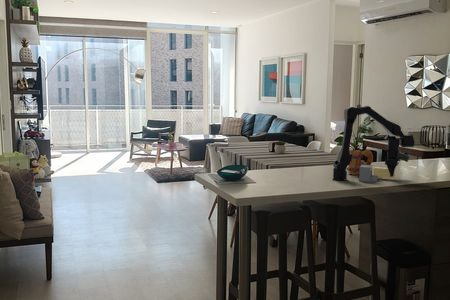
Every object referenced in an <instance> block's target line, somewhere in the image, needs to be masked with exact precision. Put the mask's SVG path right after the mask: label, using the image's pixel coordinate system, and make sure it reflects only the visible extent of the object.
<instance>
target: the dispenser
mask: <svg viewBox="0 0 450 300" xmlns="http://www.w3.org/2000/svg"><path fill="white" fill-rule="evenodd" d="M358 175H359V177H358V178H359V179H358V180H359V182H365V181H366V182H367V183H370V182H371V183H373V182H374V183H377V181H378V180H379V179H378V178H379V177H378V176H377V175H374V174H373V165H372V164H371V165H361V166H360V172H359V174H358Z"/></svg>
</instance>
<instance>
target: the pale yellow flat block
mask: <svg viewBox="0 0 450 300" xmlns="http://www.w3.org/2000/svg"><path fill="white" fill-rule="evenodd" d="M373 175H377V176H378V178H385V179H395V178H396V169H395V170H394V175H393V176H391V175H390V172H389V170H388V168H387V167H378V166H377V167H375V166H374V167H373Z"/></svg>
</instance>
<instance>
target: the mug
mask: <svg viewBox="0 0 450 300" xmlns="http://www.w3.org/2000/svg"><path fill="white" fill-rule="evenodd" d="M349 151H350V153H351V154H352V158H351V160H352V162H351V161H350V164H349V165H348V166H347V168H346V171H347V174H349V175H351V174H352V175H351V176H355V175H356V176H358V175H359V172H360V166H361V165H372V163H373V161H374V154H373V153H372V150H370V149H368V148H367V149H365V150H364V151H363V150H362V151H361V149H358V150H357V149H349ZM364 157H367V160H366V162H362V158H364Z"/></svg>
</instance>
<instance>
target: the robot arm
mask: <svg viewBox="0 0 450 300" xmlns="http://www.w3.org/2000/svg"><path fill="white" fill-rule="evenodd" d="M360 115H367V116H368V117H370V118H371V119H372V120H374V121H375V122H376V123H378V124H379V125H380V126H382V128H383V129H384V130H385V131H386V133H388V134H386V136H384V137H383V138H384V140H387V149H386V151H387V156H386V159H385V161H384V165H386V168H388V170H389V172H390V175H391V176H393V175H394V170H395V171H396V168H397V166H398V165H399V164H400V162H401V160H402V161H404V162H406V163H408V162H409V160H410V157H411V155H409V152H408V151H405V152H401V149H400V147H401V148H414V147H415V143H416V142H415V138H414V134H408V135H407V134H406V135H405V134H404V132H403V131H402V127H401V126H400V125H399V124H398V123H395V122H392V121H390V120H389V119H387V118H386V117H384V116H382V115H381V114H380V113H378V112H377V111H376V110H374V109H373V108H372V107H371V106H369V105H365V106H360V107H359V106H358V107H354V106H347V107H346V108H344V111H343V117H344V119H343V120H344V129H343V134H342V135H343V136H342V141H341V142H342V143H341V149H340V151H339V152H338V154H337V158H336V160H335V161H334V162H333V163H332V166H333V170H332V171H333V173H332V175H333V176H332V180H333V181H341V182H342V181H344V182H345V181H346V180H347V179H348V170H347V168H348V167H349V164H350V161H351V162H352V160H351V158H352V154H351V153H350V151H349V150H351V148H350V147H351V141H352V135H353V134H352V133H353V127H354V123H355V122H356V120H357V117H358V116H360Z"/></svg>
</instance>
